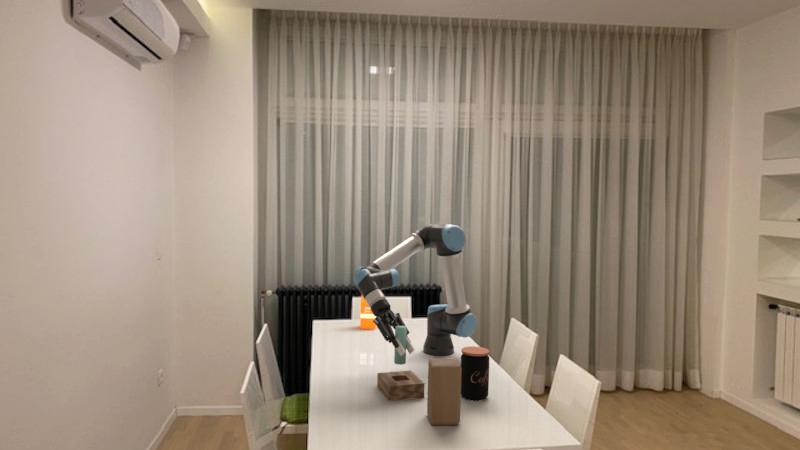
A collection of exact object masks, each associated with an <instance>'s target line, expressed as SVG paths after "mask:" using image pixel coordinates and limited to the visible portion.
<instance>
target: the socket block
mask: <svg viewBox="0 0 800 450" xmlns="http://www.w3.org/2000/svg"><path fill="white" fill-rule="evenodd" d="M376 375H377V379H376V380H377V381H376V387H377V388H378V389H379V391H380V392H381V393H382V395H383V396H384V397H385V398H386V399H387V401H388V402H393V401H401V400H402V401H404V400H411V399H412V400H415V399H424V398H425V382H424V381H423V380H422V379H421V378H420V377H418V375H416V374H415V373H414V372H413V370H399V371H389V372H388V371H387V372H377V374H376Z"/></svg>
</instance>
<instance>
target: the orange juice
mask: <svg viewBox="0 0 800 450" xmlns="http://www.w3.org/2000/svg"><path fill="white" fill-rule="evenodd" d="M360 299H361V300H360V323H359V325H360V327H359V328H360V329H361V330H363V329H368V330H369V329H370V330H371V329H372V330H376V328H377V325H376V324H375V323H374V322H373V320H374V319H375V318H376V316H374V314H373V313H372V311H371V308H370V307H369V306H368V304H367V302H366V301H365V299H364V297H363V296H362V295H361V296H360Z"/></svg>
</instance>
